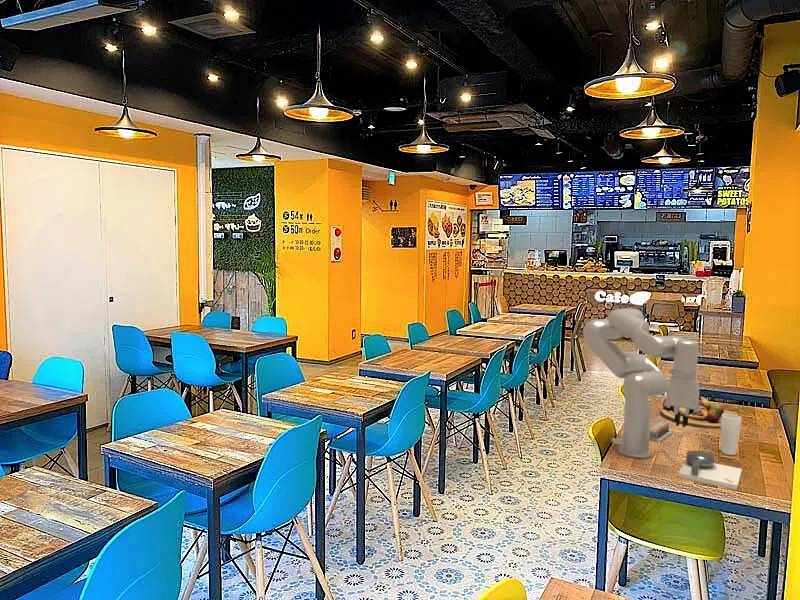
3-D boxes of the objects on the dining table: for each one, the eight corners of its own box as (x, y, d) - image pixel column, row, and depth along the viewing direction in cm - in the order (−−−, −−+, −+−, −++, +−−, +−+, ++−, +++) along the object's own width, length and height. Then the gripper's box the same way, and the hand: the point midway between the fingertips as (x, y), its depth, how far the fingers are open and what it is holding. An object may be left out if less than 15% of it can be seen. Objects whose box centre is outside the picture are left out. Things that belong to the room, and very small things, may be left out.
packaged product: (661, 432, 245) (636, 427, 252) (660, 444, 246) (636, 438, 253) (675, 423, 259) (651, 418, 265) (674, 434, 259) (651, 429, 266)
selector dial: (688, 457, 225) (688, 448, 224) (715, 463, 220) (715, 454, 219) (680, 472, 210) (680, 462, 210) (708, 478, 205) (709, 468, 205)
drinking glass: (720, 449, 240) (723, 412, 239) (740, 453, 236) (743, 415, 234) (716, 453, 235) (719, 416, 233) (736, 457, 231) (739, 419, 229)
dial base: (676, 476, 211) (677, 471, 211) (685, 461, 226) (685, 456, 226) (736, 489, 201) (737, 484, 201) (741, 472, 216) (742, 467, 216)
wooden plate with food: (648, 416, 284) (649, 399, 283) (677, 404, 305) (678, 388, 304) (720, 435, 260) (721, 417, 259) (746, 420, 282) (747, 403, 281)
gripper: (658, 373, 213) (655, 424, 215) (707, 380, 204) (703, 432, 206) (662, 369, 219) (659, 419, 221) (710, 376, 211) (706, 427, 212)
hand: (680, 425), depth 214 cm, fingers closed
